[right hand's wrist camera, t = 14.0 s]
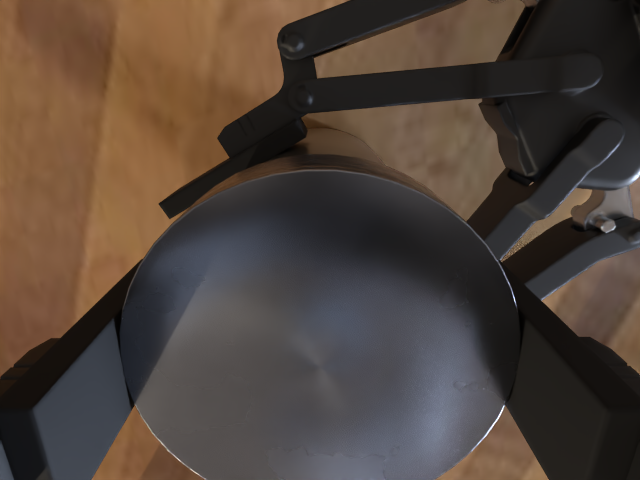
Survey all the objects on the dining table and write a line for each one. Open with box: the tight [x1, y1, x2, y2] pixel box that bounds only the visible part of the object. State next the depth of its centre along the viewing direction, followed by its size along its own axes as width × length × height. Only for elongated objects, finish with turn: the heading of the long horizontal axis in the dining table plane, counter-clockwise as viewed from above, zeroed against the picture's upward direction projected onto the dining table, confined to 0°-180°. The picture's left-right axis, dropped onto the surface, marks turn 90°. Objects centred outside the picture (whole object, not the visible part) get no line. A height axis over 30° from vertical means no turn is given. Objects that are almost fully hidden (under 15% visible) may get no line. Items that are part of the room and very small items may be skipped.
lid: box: [119, 154, 521, 480], centre depth 11 cm, size 10×10×2 cm
